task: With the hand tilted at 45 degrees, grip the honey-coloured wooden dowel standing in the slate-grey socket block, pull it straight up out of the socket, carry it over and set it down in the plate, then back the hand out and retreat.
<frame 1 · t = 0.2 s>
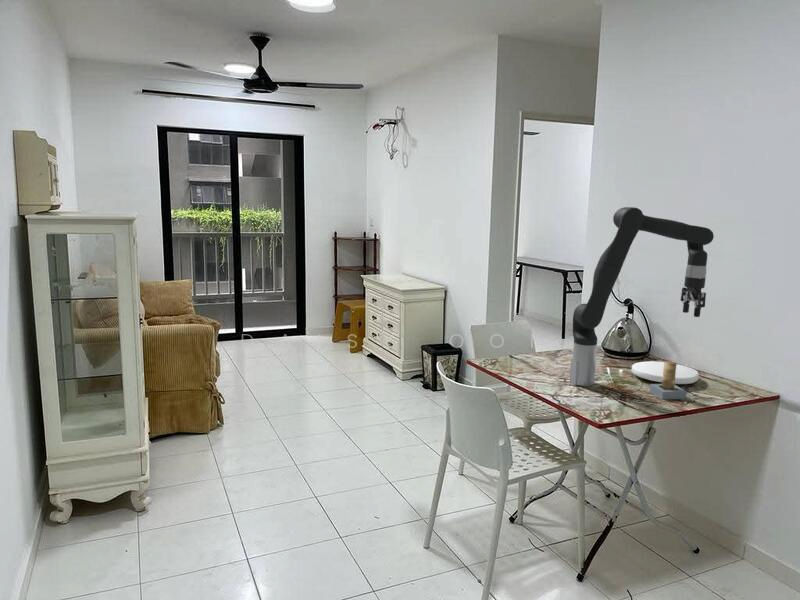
hand: (691, 314, 241), 29 cm above the table, tool pointing down, fingers open, 8 cm apart
socket block: (667, 395, 228), on the table
plate: (664, 379, 250), on the table
dowel: (668, 379, 227), in the socket block
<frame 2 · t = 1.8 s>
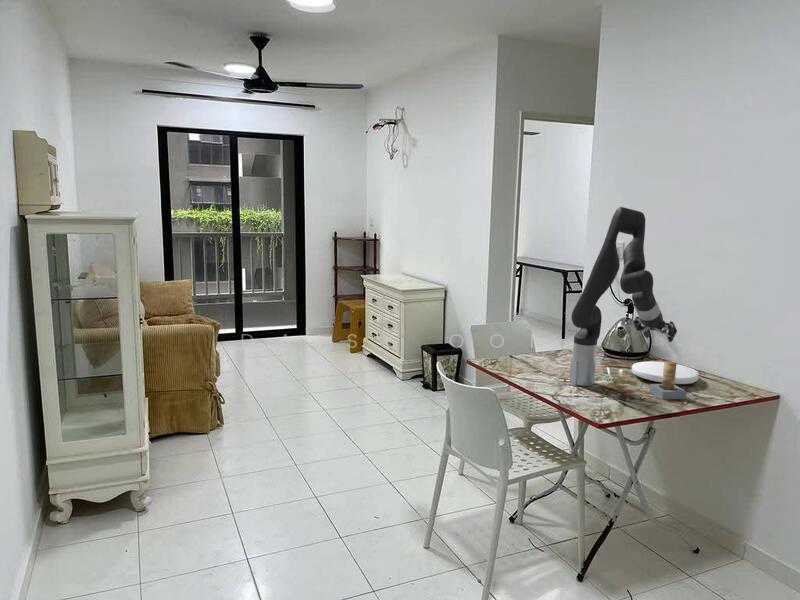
hand: (659, 338, 218), 25 cm above the table, tool tilted 45°, fingers open, 8 cm apart
nothing on the table moved.
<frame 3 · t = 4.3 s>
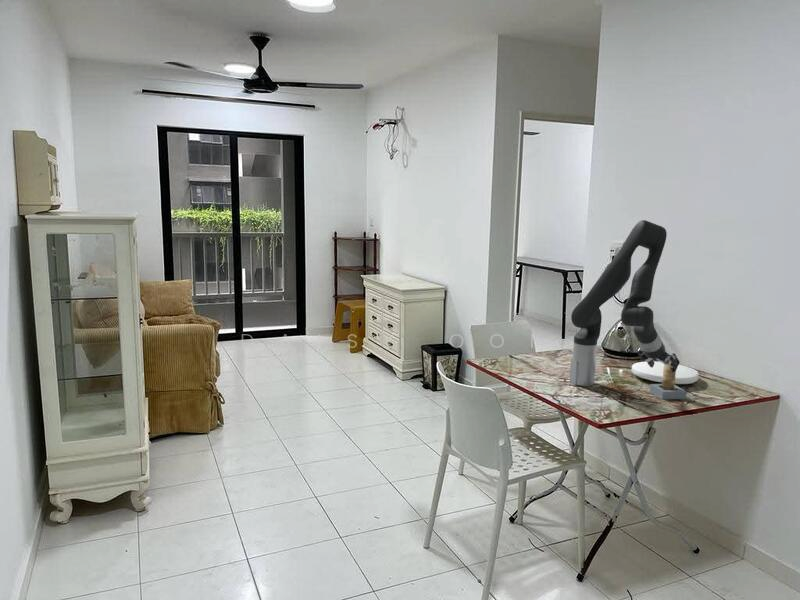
hand: (663, 367, 223), 12 cm above the table, tool tilted 45°, fingers open, 8 cm apart
nothing on the table moved.
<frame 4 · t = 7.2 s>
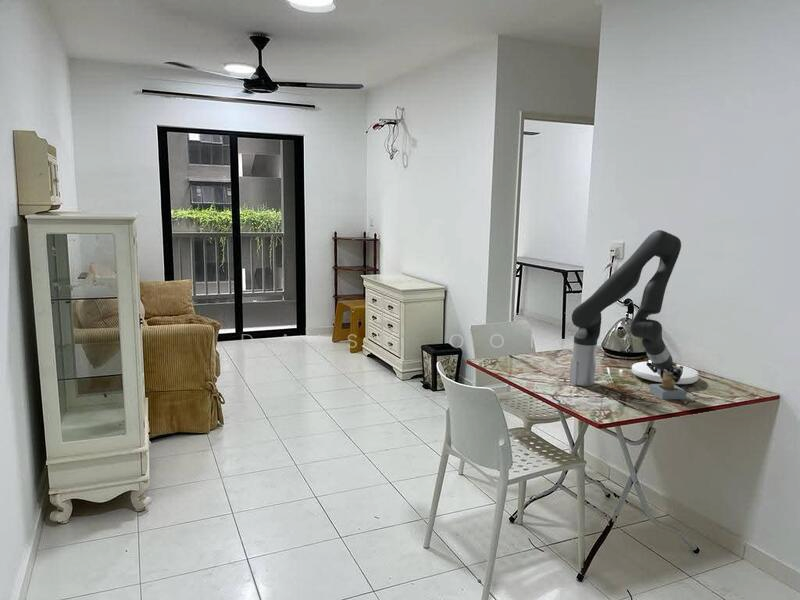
hand: (670, 379, 229), 6 cm above the table, tool tilted 45°, fingers closed on dowel, 4 cm apart
dowel: (668, 379, 227), in the socket block, touching gripper
everything else where it was.
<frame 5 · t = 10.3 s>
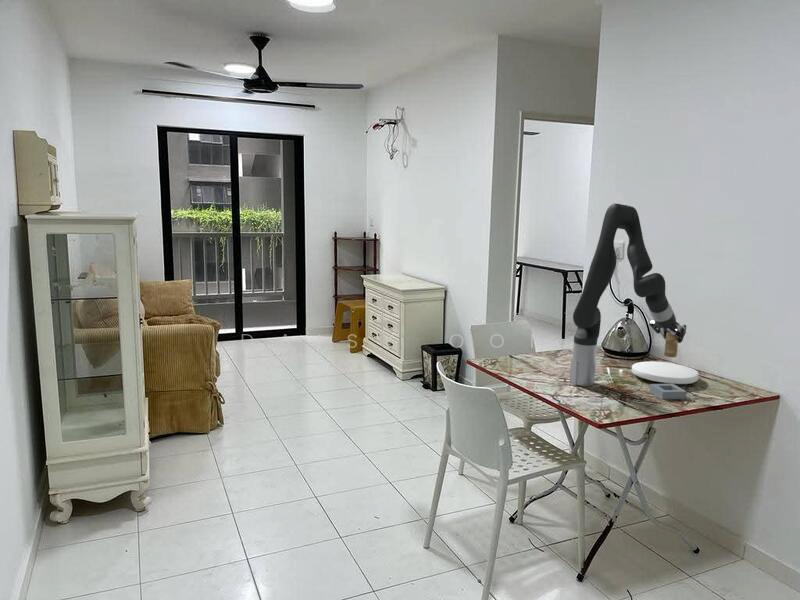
hand: (674, 339, 227), 22 cm above the table, tool tilted 45°, fingers closed on dowel, 4 cm apart
dowel: (671, 339, 226), point 22 cm above the table, touching gripper
everything else where it was.
when the fingers open (13 cm above the table, at t = 13.8 s): dowel stays where it is, resting on plate.
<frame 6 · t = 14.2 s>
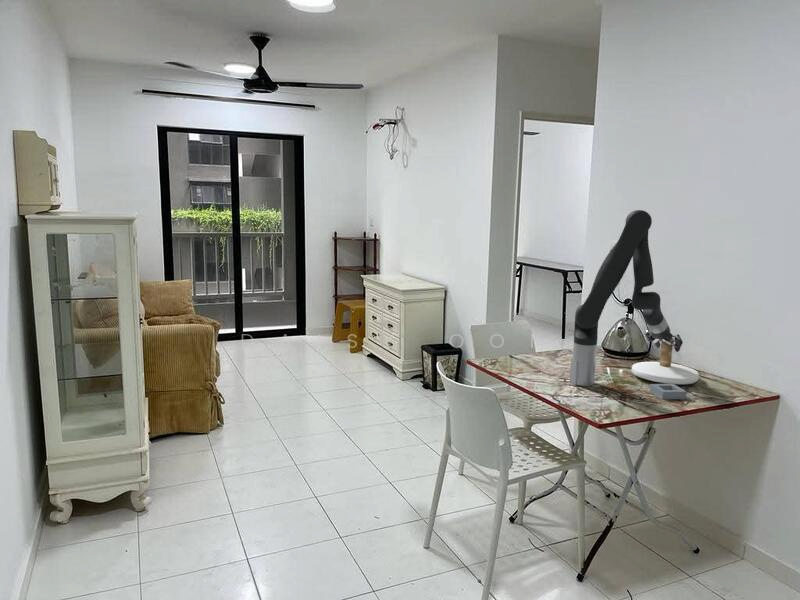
hand: (668, 348, 249), 13 cm above the table, tool tilted 45°, fingers open, 8 cm apart
plate: (664, 379, 250), on the table, touching dowel
dowel: (666, 350, 248), point 12 cm above the table, touching plate
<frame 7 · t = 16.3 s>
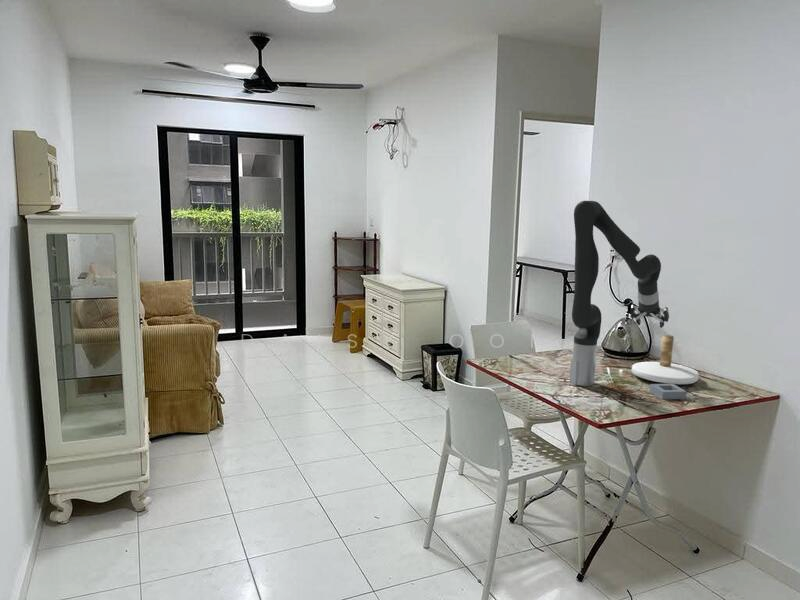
hand: (650, 325, 240), 25 cm above the table, tool tilted 35°, fingers open, 8 cm apart
nothing on the table moved.
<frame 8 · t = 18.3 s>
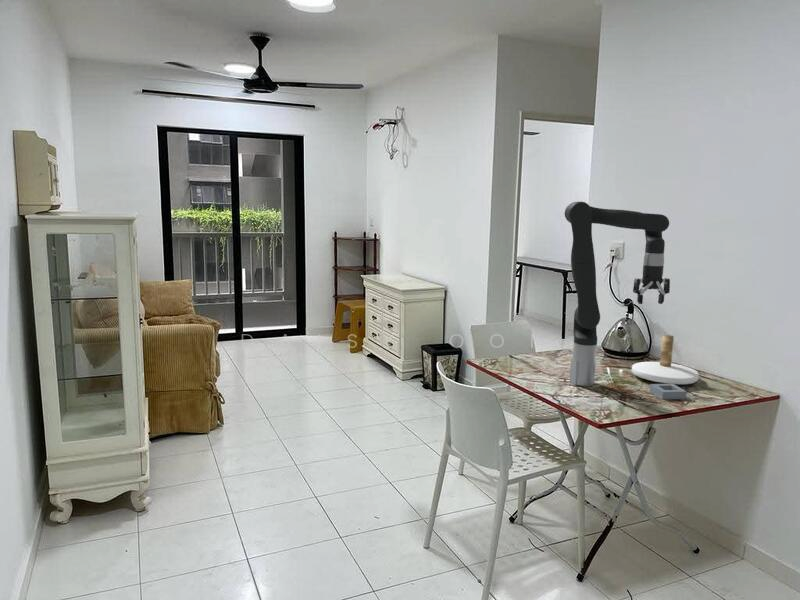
hand: (650, 303, 236), 34 cm above the table, tool pointing down, fingers open, 8 cm apart
nothing on the table moved.
at the end: dowel touching plate; dowel 0.6 cm from the plate (horizontally); the gripper is holding nothing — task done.
